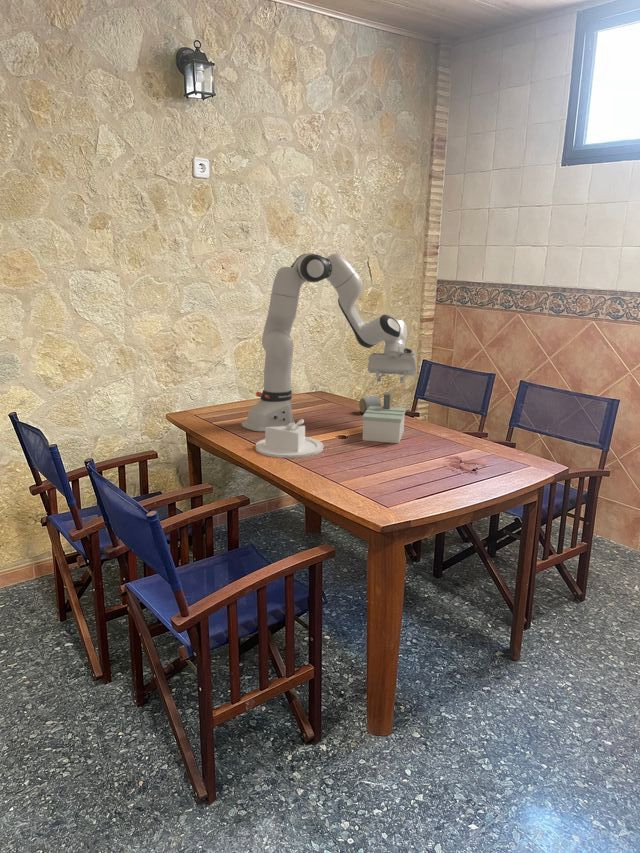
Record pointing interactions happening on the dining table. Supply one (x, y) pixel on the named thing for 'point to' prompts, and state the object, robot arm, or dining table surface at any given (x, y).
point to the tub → (383, 431)
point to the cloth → (458, 459)
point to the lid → (384, 412)
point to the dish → (288, 442)
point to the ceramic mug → (369, 402)
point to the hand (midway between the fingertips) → (390, 381)
